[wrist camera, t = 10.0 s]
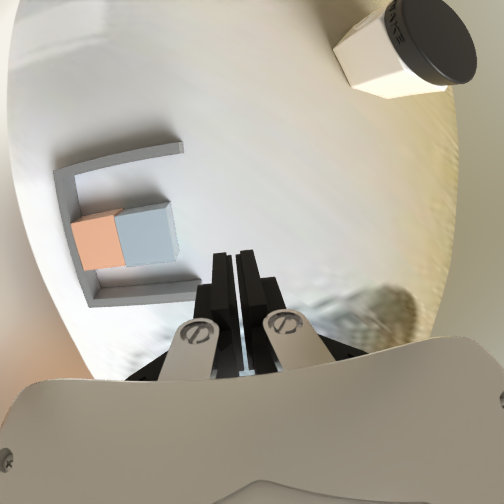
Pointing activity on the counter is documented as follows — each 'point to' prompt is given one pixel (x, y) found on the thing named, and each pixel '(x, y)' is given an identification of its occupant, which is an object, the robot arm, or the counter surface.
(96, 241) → the tile
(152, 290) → the tray
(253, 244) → the counter surface
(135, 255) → the tile
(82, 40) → the counter surface
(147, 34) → the counter surface
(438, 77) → the jar
